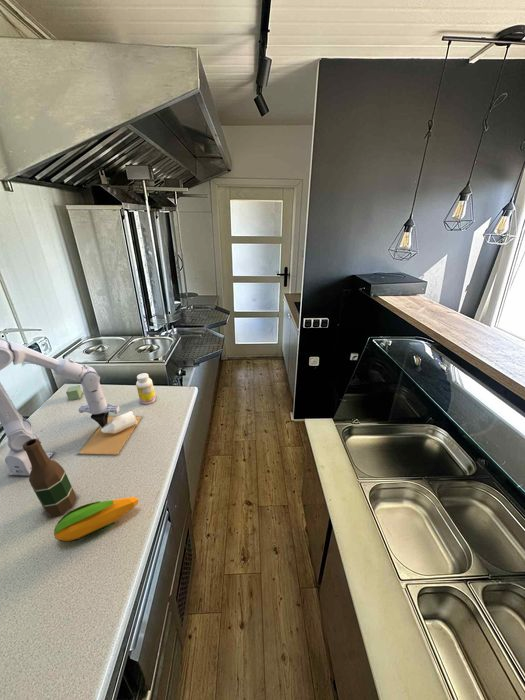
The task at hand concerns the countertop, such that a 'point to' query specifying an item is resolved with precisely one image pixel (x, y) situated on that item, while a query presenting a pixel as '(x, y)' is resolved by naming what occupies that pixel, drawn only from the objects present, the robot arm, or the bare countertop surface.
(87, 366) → the robot arm
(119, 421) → the white radish
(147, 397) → the supplement bottle
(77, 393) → the block
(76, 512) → the corn
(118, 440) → the mat
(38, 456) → the beer bottle
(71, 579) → the countertop surface
